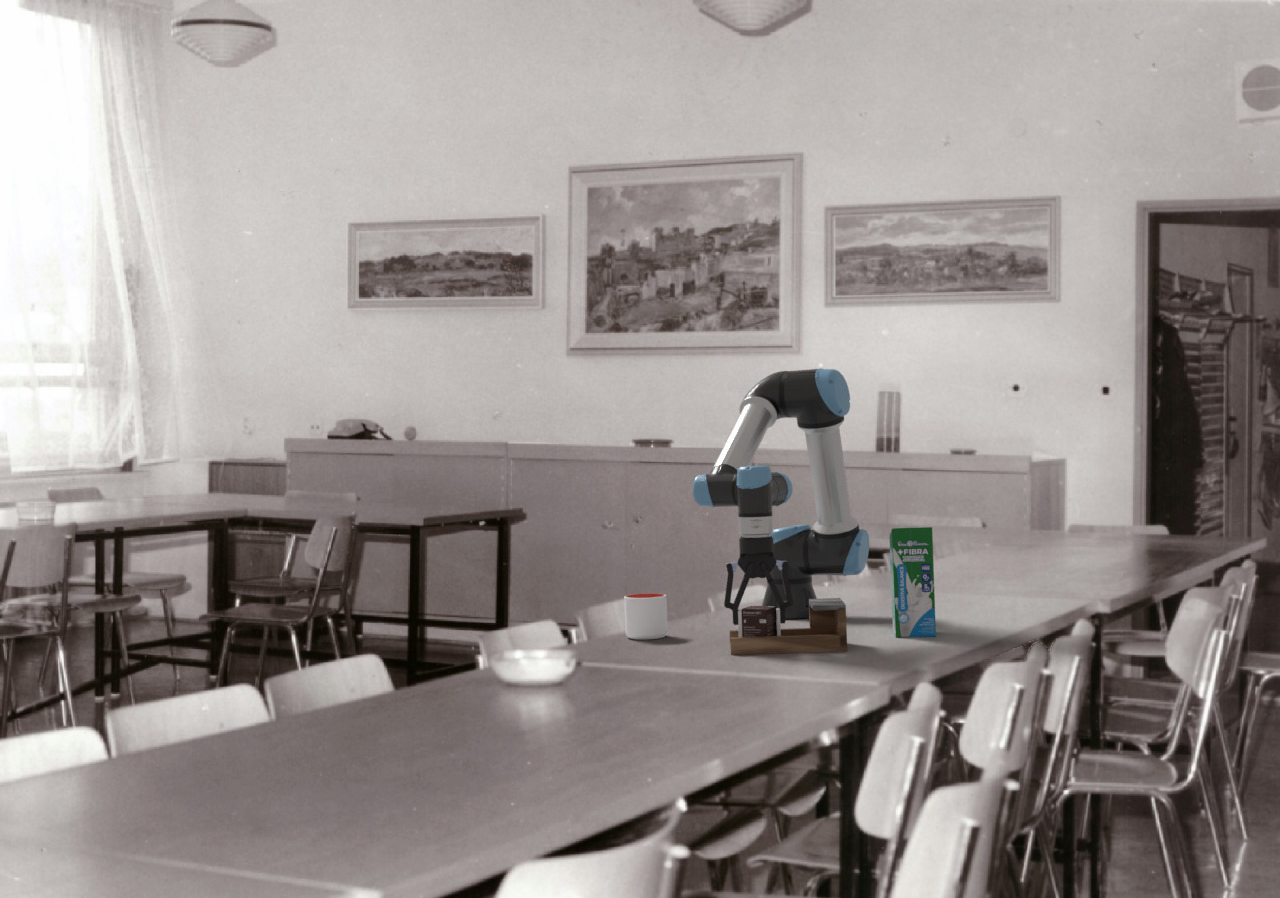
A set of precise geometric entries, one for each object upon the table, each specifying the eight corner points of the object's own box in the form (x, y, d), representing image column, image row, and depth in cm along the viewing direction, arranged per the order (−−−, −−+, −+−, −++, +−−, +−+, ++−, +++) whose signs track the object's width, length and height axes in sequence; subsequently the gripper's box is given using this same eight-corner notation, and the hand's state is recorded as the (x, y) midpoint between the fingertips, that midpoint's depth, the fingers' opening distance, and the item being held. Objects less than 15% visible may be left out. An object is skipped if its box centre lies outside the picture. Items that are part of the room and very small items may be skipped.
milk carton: (931, 631, 336) (928, 524, 336) (936, 636, 328) (932, 526, 327) (892, 631, 337) (889, 525, 337) (895, 637, 328) (891, 527, 328)
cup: (663, 640, 337) (662, 597, 337) (621, 640, 339) (620, 598, 339) (671, 634, 347) (669, 592, 347) (630, 634, 349) (629, 593, 349)
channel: (730, 645, 325) (728, 601, 325) (841, 642, 324) (840, 597, 324) (731, 654, 312) (729, 608, 312) (847, 651, 311) (845, 604, 311)
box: (741, 642, 317) (740, 608, 317) (752, 638, 322) (751, 605, 322) (767, 642, 314) (765, 609, 314) (777, 638, 319) (776, 605, 319)
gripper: (709, 538, 315) (713, 642, 315) (804, 535, 314) (807, 640, 314) (709, 536, 322) (712, 637, 322) (801, 532, 321) (805, 635, 321)
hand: (759, 638), depth 318 cm, fingers closed on box, 8 cm apart
